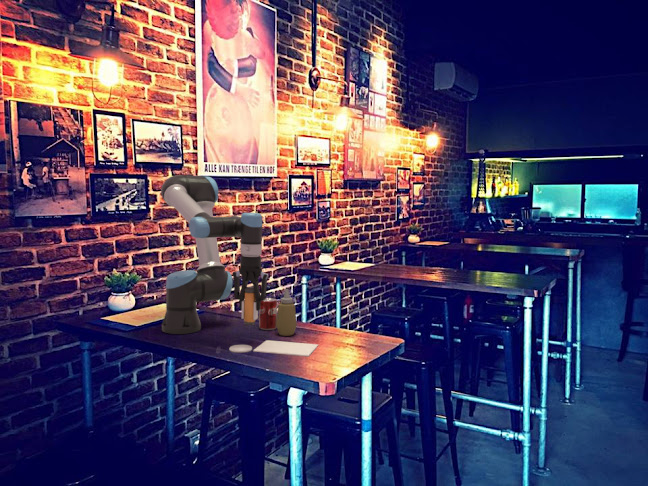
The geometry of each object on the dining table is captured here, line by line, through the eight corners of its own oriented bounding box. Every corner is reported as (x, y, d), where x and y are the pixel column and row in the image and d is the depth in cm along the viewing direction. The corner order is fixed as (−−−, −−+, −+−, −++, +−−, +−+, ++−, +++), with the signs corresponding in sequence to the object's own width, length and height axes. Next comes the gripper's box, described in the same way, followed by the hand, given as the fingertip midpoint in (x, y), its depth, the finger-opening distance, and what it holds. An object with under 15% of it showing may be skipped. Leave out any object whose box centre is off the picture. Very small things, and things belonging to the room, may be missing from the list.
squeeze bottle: (300, 333, 213) (300, 288, 212) (290, 338, 206) (291, 291, 204) (282, 330, 217) (282, 286, 215) (272, 335, 209) (272, 289, 208)
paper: (253, 351, 187) (253, 350, 187) (266, 341, 200) (266, 340, 200) (308, 356, 182) (308, 355, 182) (318, 345, 196) (318, 344, 196)
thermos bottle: (242, 324, 196) (242, 288, 195) (246, 322, 200) (247, 286, 199) (252, 325, 195) (253, 289, 194) (256, 323, 199) (257, 287, 198)
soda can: (278, 326, 224) (278, 298, 223) (275, 330, 216) (275, 301, 215) (261, 325, 224) (261, 297, 223) (257, 330, 217) (257, 300, 216)
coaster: (225, 351, 186) (225, 349, 186) (234, 345, 194) (234, 343, 194) (247, 353, 184) (247, 351, 184) (255, 347, 192) (255, 345, 192)
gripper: (225, 255, 193) (224, 318, 196) (269, 258, 189) (268, 322, 192) (233, 252, 201) (232, 314, 203) (276, 255, 197) (274, 318, 199)
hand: (249, 318), depth 197 cm, fingers closed on thermos bottle, 4 cm apart
